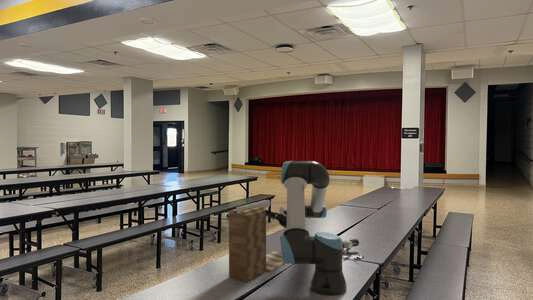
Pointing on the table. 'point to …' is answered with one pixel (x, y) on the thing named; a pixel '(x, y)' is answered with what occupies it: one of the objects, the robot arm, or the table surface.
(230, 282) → the table surface
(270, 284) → the table surface
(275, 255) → the board
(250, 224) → the wooden rectangular column
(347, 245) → the figurine
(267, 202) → the block
